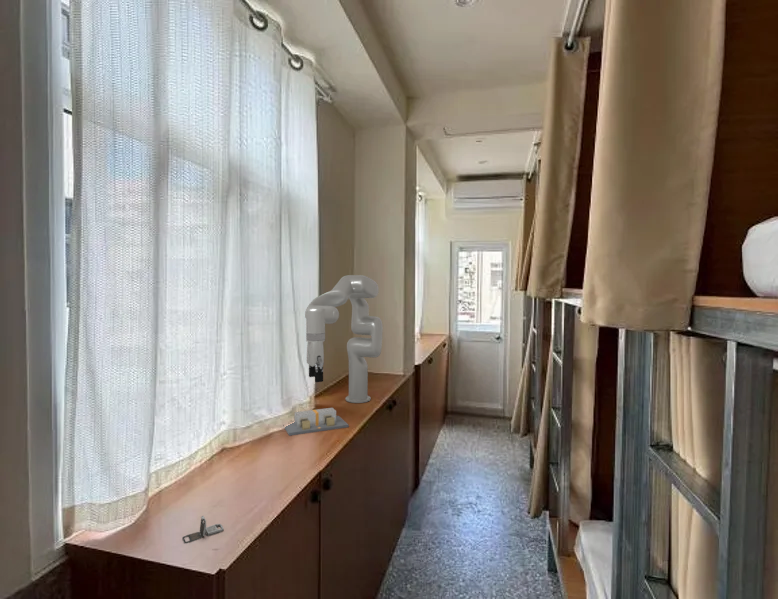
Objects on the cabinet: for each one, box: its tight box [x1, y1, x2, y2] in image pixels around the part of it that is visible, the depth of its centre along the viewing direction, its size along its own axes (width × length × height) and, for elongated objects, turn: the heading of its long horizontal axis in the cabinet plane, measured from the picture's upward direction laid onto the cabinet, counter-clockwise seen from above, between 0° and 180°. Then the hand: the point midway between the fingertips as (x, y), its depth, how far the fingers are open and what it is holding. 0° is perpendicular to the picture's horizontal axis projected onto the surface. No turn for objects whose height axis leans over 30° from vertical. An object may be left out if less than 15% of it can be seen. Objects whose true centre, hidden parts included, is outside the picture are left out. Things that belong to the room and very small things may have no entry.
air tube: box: [294, 407, 337, 428], centre depth 170 cm, size 5×16×5 cm, turn 115°
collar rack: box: [284, 415, 350, 436], centre depth 170 cm, size 13×24×4 cm, turn 115°
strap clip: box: [182, 515, 225, 544], centre depth 96 cm, size 8×3×4 cm, turn 126°
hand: (315, 379), depth 170 cm, fingers open, 9 cm apart
